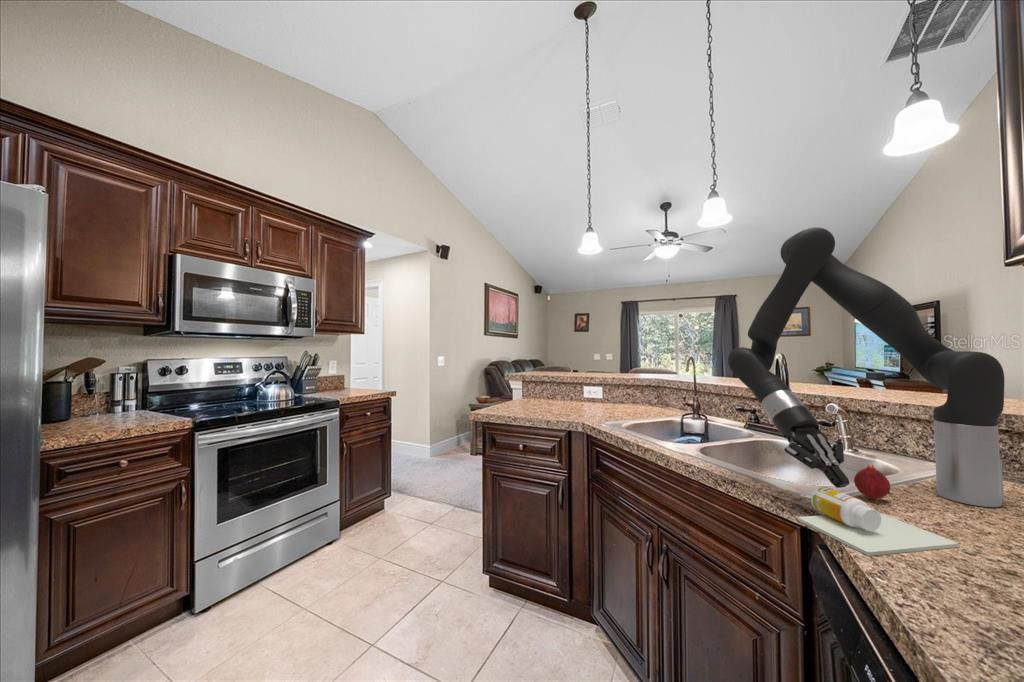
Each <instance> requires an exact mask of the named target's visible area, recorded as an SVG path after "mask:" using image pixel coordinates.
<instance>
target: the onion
mask: <svg viewBox="0 0 1024 682" xmlns="http://www.w3.org/2000/svg"><path fill="white" fill-rule="evenodd" d="M853 482H854V485H855V487H856V489H857V490H858V491H859V492H860V493H861V494H862V495H863V496H865V497H866V498H867V499H868V500H870V501H877V500H878V499H882V498H884V497H887V495H888V494H889V493H890V490H891V483H890V481H889V478H887V476H886V475H885V474H884V473H883V472H881V471H880V470H878V469H876V468H875V466H874V465H873V464H872V463H869V464H868V465H867V467H866V468H862V469H861V470H859V471H858V472H856V474H855V475H854V479H853Z"/></svg>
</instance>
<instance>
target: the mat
mask: <svg viewBox="0 0 1024 682" xmlns="http://www.w3.org/2000/svg"><path fill="white" fill-rule="evenodd" d="M879 514H880V516H881V524H880V526H879V528H878V529H877V530H875V531H868V530H865V529H863V528H861V527H860V528H854V527H850V526H848V525H846V524H844V523H842V522H839V521H837V520H835V519H833V518H831V517H829V516H827V515H825V514H821V515H810V516H798V517H797V521H799V522H800V523H802V524H804V525H806V526H808V527H809V528H812V529H814V530H816V531H818V532H820V533H822V534H824V535H825V536H828V537H830V538H832V539H833V540H836V541H838V542H840V543H841V544H843V545H845V546H848V547H849V548H851V549H853V550H855V551H858V552H859V553H861V554H864V555H865V556H868V557H872V556H881V555H891V554H901V553H912V552H913V553H915V552H923V551H924V552H925V551H934V550H935V551H936V550H942V549H943V550H944V549H951V548H952V549H955V548H959V547H960V544H959V543H958V542H957V541H953V540H951V539H947V538H945V537H942V536H940V535H938V534H935V533H933V532H930V531H927V530H925V529H922V528H920V527H918V526H915V525H912V524H909V523H907V522H905V521H901V520H899V519H896V518H895V517H892V516H889V515H887V514H883V513H881V512H879Z"/></svg>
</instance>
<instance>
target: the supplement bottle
mask: <svg viewBox="0 0 1024 682" xmlns="http://www.w3.org/2000/svg"><path fill="white" fill-rule="evenodd" d="M810 501H811V502H810V503H811V505H812V507H813V508H814V510H815V511H817V512H819V513H820V514H821V515H827V516H829V517H831V518H833V519H835V520H837V521H839V522H842V523H844V524H846V525H848V526H850V527H854V528H860V527H861V528H863V529H865V530H868V531H875V530H877V529H878V528H879V526H880V524H881V516H880V514H879V513H880V512H878V510H876V509H874V508H872V507H870V506H868V505H867V503H866V502H864V501H863V500H861V499H859V498H856V497H855V496H854V497H853V496H852V495H848V494H846V493H843V492H841V491H839V490H836V489H834V488H831V487H828V486H825V485H824V486H818V487H816V488H815V489H814V490H813V491H812V493H811V496H810Z"/></svg>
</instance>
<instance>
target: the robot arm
mask: <svg viewBox="0 0 1024 682" xmlns="http://www.w3.org/2000/svg"><path fill="white" fill-rule="evenodd" d="M835 247H836V240H835V237H834V235H833V233H831V232H830V230H828V229H826V228H823V227H810V228H809V227H808V228H806V229H803V230H801V231H798V232H797V233H795V234H794V235H792V236H790V237H788V238H787V239H786V240H785V241H784V242H783V244H782V245H781V248H780V258H781V260H782V262H783V263H784V264H785V266H784V269H783V271H782V273H781V275H780V278H779V279H778V280H777V282H776V284H775V286H773V289H772V290H771V292H770V293H769V294H768V296H767V297H766V298H765V299H764V301H763V303H762V305H760V307H759V309H758V310H757V313H756V315H755V316H754V318H753V321H752V322H751V324H750V326H749V328H748V330H747V337H748V338H749V339H750V340H751V341H752V343H751V347H750V348H748V347H745V346H744V347H743V346H741V347H736V348H734V349H732V350H731V351H730V352H729V354H728V357H727V363H728V366H729V369H730V370H731V372H732V373H733V374H734V375H735V377H737V378H738V380H739V381H741V383H742V384H743V385H745V386H746V387H747V388H748V389H750V391H751V392H752V393H753V395H754V397H755V398H756V399H757V401H758V402H759V403H760V405H761V407H762V409H763V410H764V412H765V414H766V415H767V417H768V418H769V420H770V421H771V422H772V423H773V425H774V426H775V428H776V430H778V432H779V433H780V435H781V436H782V437H783V438H784V439H786V440H787V442H788V445H787V446H786V447H785V448H784V452H785V453H787V454H788V455H790V456H791V457H793V458H794V459H796V460H797V461H799V462H800V463H802V464H803V465H805V466H806V467H808V468H809V469H812V470H814V469H818V470H819V471H820V472H822V473H823V474H824V475H825V477H826V478H827V479H828V481H829V482H830V483H831V485H833V486H834V487H835V488H837V489H840V488H842V489H843V488H846V487H847V486H848V485H850V479H849V478H848V476H846V474H845V472H843V470H842V469H841V468H840V466H839V465H841V464H843V463H844V462H845V456H844V455H845V453H844V452H845V451H844V443H843V442H842V441H841V440H839V439H838V440H835V441H834V440H832V439H829V438H828V436H827V435H826V434H825V433H824V432H822V431H821V429H820V428H819V427H820V425H819V421H818V420H817V419H816V418H815V417H814V415H813V414H812V413H811V412H810V410H809V409H808V408H807V406H806V405H805V404H804V403H803V402H802V401H801V400H800V398H799V397H798V396H797V395H796V394H795V393H793V391H791V390H790V388H789V386H787V384H786V383H785V382H784V381H783V380H782V379H781V377H779V376H778V375H776V374H775V373H773V372H772V371H771V369H772V366H773V364H774V361H775V357H776V352H777V349H778V348H777V347H778V343H779V342H778V341H779V339H780V337H781V336H782V334H783V332H784V330H785V328H786V326H787V324H788V323H789V320H790V318H791V316H792V314H793V313H794V310H795V309H796V307H797V305H798V303H799V302H800V300H801V298H802V296H804V295H803V294H804V293H805V292H806V290H807V288H808V287H809V285H810V284H811V282H812V283H813V284H814V285H816V286H817V287H818V288H819V289H821V290H822V291H823V292H824V293H825V294H827V296H828V297H830V298H831V299H832V300H833V301H835V303H837V304H838V305H839V306H840V307H842V308H843V310H845V311H846V312H847V313H849V315H851V317H853V318H854V319H855V320H856V321H858V322H859V323H860V324H862V325H863V326H864V327H865V328H866V329H868V331H871V332H872V333H874V335H876V336H877V337H878V338H880V339H881V340H882V341H883V342H884V343H885V344H887V345H888V346H890V348H892V349H893V350H895V351H896V352H897V353H898V354H899V355H901V357H903V359H904V360H906V362H908V364H910V366H911V367H913V369H914V370H915V371H916V372H918V374H919V375H920V376H921V377H922V378H923V379H924V380H925V381H927V383H929V384H931V385H932V386H934V387H936V388H938V389H941V390H945V391H947V392H946V393H947V395H946V396H947V397H946V401H945V402H944V403H943V404H941V405H939V406H936V407H935V408H933V411H932V412H933V413H932V415H933V417H932V418H933V434H934V455H935V457H934V458H935V459H934V460H935V482H936V483H935V484H936V494H937V495H938V496H940V497H942V498H944V499H947V500H950V501H953V502H957V503H962V504H966V505H969V506H970V505H971V506H977V507H984V508H986V507H987V508H999V507H1002V505H1003V504H1004V502H1005V498H1004V497H1005V496H1004V495H1005V494H1004V479H1003V477H1004V473H1003V460H1002V459H1001V456H1000V455H1001V454H1000V439H999V438H1000V437H999V418H1000V416H1001V415H1002V413H1003V412H1004V406H1005V373H1004V369H1003V366H1002V364H1001V362H1000V361H999V360H998V359H997V358H996V357H994V356H993V355H991V354H989V353H986V352H981V351H971V350H970V351H967V350H964V351H961V350H960V351H959V350H957V351H956V350H953V349H951V348H950V347H948V346H946V345H944V344H943V343H941V341H939V340H937V339H936V338H935V337H934V336H932V335H931V334H930V333H929V332H928V331H927V330H926V328H925V327H924V326H923V323H922V321H921V319H920V316H919V313H917V310H916V309H915V307H914V306H913V305H912V304H911V303H910V302H909V301H908V300H907V299H906V298H905V297H904V296H902V295H901V294H900V293H898V292H897V291H896V290H894V289H893V288H892V287H890V286H889V285H887V284H886V283H884V282H881V281H880V280H878V279H876V278H874V277H872V276H869V275H867V274H864V273H862V272H859V271H858V270H856V269H853V268H851V267H849V266H847V265H846V264H844V263H843V262H841V261H840V260H839V259H838V258H837V257H835V256H834V255H833V252H834V251H835V249H836V248H835Z"/></svg>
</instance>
